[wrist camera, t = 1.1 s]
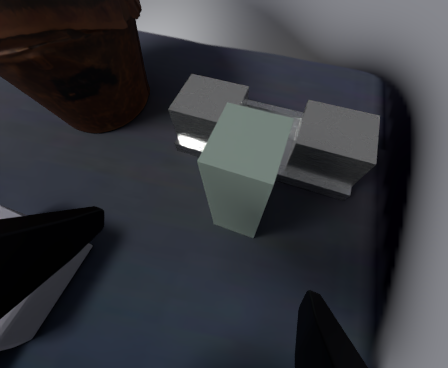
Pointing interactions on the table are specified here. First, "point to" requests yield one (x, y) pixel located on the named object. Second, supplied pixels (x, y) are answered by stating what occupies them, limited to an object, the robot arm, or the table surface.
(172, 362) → the table surface
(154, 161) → the table surface
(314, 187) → the rail
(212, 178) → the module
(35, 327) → the charger
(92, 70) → the brown flower pot
